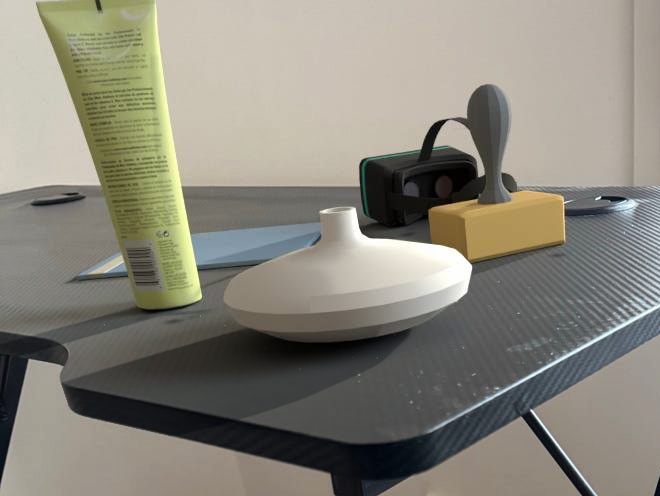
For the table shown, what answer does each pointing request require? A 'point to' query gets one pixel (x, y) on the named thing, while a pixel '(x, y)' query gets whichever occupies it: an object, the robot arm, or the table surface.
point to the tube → (128, 138)
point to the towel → (228, 248)
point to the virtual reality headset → (421, 180)
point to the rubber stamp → (496, 195)
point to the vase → (347, 285)
